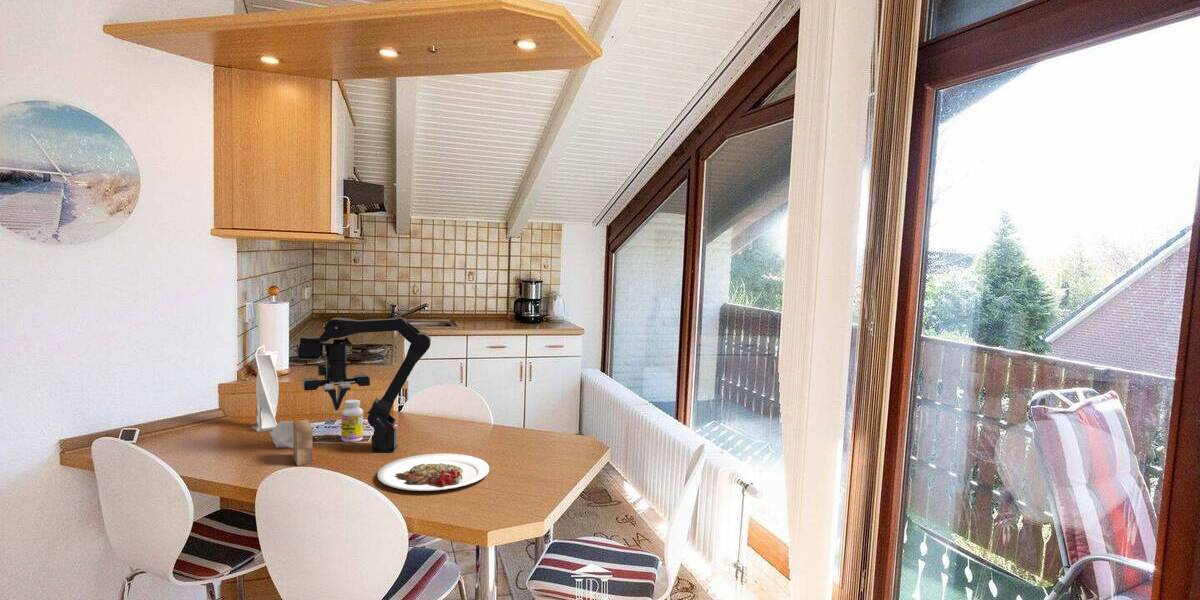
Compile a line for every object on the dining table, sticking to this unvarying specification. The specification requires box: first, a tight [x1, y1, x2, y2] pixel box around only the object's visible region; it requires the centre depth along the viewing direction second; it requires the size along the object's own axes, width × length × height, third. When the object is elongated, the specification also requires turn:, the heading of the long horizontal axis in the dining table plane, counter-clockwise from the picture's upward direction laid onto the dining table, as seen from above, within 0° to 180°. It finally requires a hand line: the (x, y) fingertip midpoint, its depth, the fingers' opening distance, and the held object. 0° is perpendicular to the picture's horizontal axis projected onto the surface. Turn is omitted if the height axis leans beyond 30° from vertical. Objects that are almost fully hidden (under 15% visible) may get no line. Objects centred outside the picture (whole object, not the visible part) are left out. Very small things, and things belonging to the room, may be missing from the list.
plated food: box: [377, 452, 490, 492], centre depth 180 cm, size 30×30×3 cm
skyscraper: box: [251, 345, 280, 433], centre depth 223 cm, size 8×8×28 cm
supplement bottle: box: [340, 399, 364, 443], centre depth 211 cm, size 7×7×13 cm
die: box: [269, 420, 294, 449], centre depth 203 cm, size 8×9×10 cm
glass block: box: [292, 419, 314, 467], centre depth 189 cm, size 4×9×11 cm, turn 32°
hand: (336, 410), depth 198 cm, fingers closed
